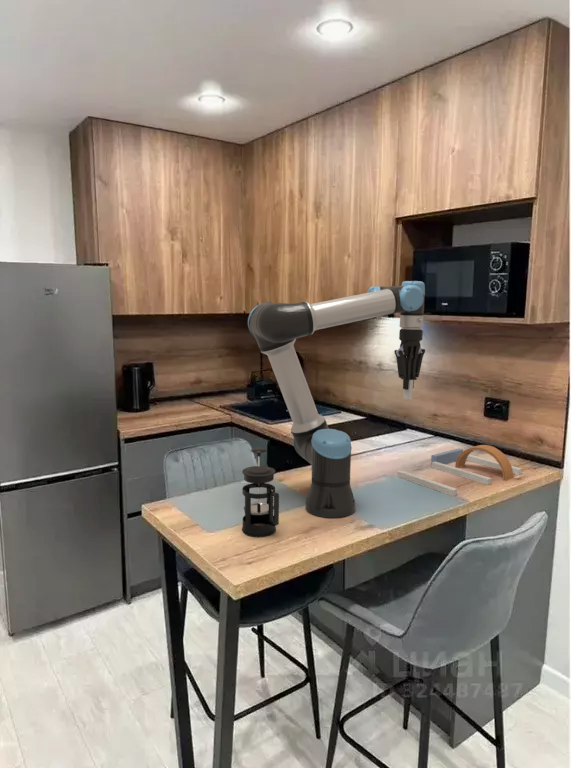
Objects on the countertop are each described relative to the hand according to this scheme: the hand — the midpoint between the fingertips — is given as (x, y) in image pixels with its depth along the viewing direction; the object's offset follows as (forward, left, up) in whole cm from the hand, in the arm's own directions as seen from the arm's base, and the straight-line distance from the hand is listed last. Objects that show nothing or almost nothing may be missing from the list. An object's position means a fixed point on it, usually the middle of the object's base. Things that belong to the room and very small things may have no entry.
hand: (407, 398), depth 178 cm
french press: (-61, -3, -30) cm, 68 cm away
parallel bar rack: (+24, -5, -30) cm, 39 cm away
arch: (+34, -8, -31) cm, 46 cm away
